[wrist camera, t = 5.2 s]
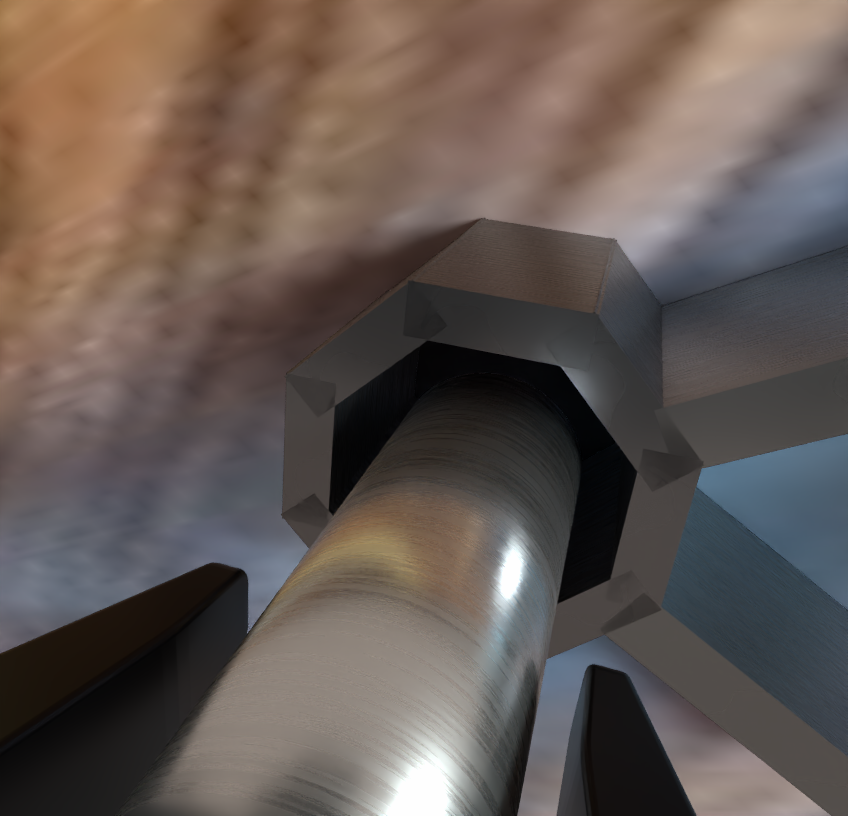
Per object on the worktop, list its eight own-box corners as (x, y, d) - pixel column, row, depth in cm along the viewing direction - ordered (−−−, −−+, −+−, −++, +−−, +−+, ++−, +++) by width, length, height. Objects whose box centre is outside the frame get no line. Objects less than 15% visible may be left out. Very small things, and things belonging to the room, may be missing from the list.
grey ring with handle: (1309, 113, 11) (1733, 141, 7) (960, 744, 17) (1070, 989, 12) (410, 17, 14) (295, -8, 10) (361, 586, 19) (274, 739, 15)
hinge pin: (599, 394, 12) (509, 891, 5) (563, 557, 13) (450, 1142, 6) (408, 355, 12) (72, 744, 5) (392, 514, 14) (104, 1001, 6)
